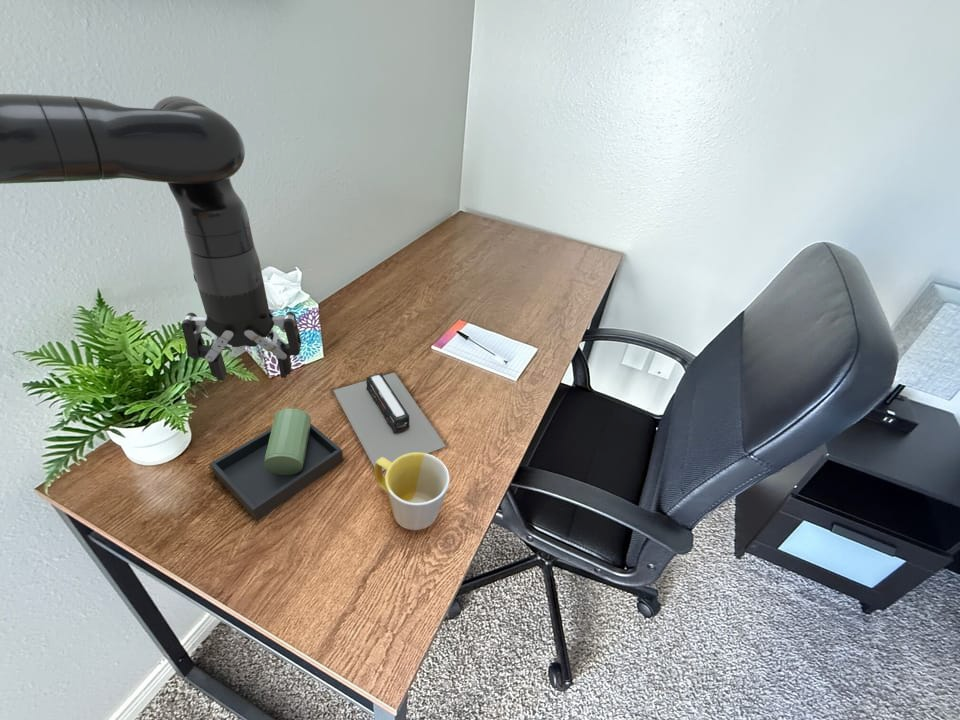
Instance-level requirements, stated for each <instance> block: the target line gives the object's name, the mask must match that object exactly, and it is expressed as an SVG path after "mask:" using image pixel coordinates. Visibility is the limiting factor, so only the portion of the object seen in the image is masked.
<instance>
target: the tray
mask: <svg viewBox="0 0 960 720" xmlns="http://www.w3.org/2000/svg"><path fill="white" fill-rule="evenodd" d="M271 429H272V427H271V428H269V429H267V430H266V431H264V432H262V433H260V434H259V435H257V436H255V437H253V438H252V439H250V440H248V441H246V442H245V443H243V444H241V445H240V446H237V447H236V448H234V449H232V450H230V451H229V452H227V453H225V454H224V455H222V456H220V457H218V458H217V459H215V460H213V461H211V462H210V463H209V466H210V468H211V471H212V474H213V476H214V477H215V478H216V479H217V480H218V481H219V482H220V483H221V484H222V485H223V486H224V487H225V489H226V490H227V491H228V492H229V493H230V494H231V495H232V496H233V497H234V498H235V500H236V501H237V502H239V504H240V505H241V506H242V507H243V508H244V509H245V510H246V511H247V513H249V514H250V517H252V518H253V519H254V520H255V521H256V522H258V521H259V520H260V519H262V518H263V517H265V516H266V515H267V514H269V513H270V512H271V511H273V510H275V509H276V508H277V507H279V506H280V505H282V504H283V503H285V502H286V501H288V500H289V499H290V498H292V497H293V496H294V495H296V494H297V493H299V492H300V491H302V490H303V489H304V488H306V487H307V486H309V485H310V484H312V483H313V482H315V481H316V480H317V479H319V478H321V477H322V476H323V475H325V474H326V473H328V472H330V471H331V470H332V469H333V468H335V467H336V466H337V465H340V463H342V462H343V461H344V455H343V449H342V448H341V447H339V446H338V445H337V444H336V443H335V442H334V441H333V440H331V439H330V438H329V437H328V436H326V435H325V434H324V433H323V432H322V431H321V430H320V429H318V428H317V427H316V426H314V425H313V423H311V425H310V430H309V436H308V442H307V448H306V453H305V459H304V464H303V468H302V470H301V471H300V472H298V473H296V474H292V475H279V474H274V473H271V472H269V471H268V470H266V469H265V468H264V466H263V463H264V458H265V454H266V450H267V446H268V441H269V437H270V433H271Z"/></svg>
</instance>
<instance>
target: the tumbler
mask: <svg viewBox="0 0 960 720" xmlns="http://www.w3.org/2000/svg"><path fill="white" fill-rule="evenodd" d="M311 424H312V418H311V416H310V415H309V414H308V413H307V411H304V410H301V409H297V408H283V409H280V410H278V411H277V412H276V413H275V414H274V417H273V420H272V425H271V428H272V429H271V428H270V429H271V433H270V437H269V441H268V446H267V450H266V454H265V458H264V463H263V466H264V468H265V469H266V470H268V471H269V472H271V473H274V474H279V475H292V474H296V473H298V472H300V471H301V470H302V468H303V464H304V459H305V453H306V448H307V442H308V436H309V430H310V425H311Z"/></svg>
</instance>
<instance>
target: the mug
mask: <svg viewBox="0 0 960 720" xmlns="http://www.w3.org/2000/svg"><path fill="white" fill-rule="evenodd" d="M382 468H384V469H385V470H384V471H385V476H384V475H383V471H382ZM374 478H375V481H376V484H377V485H378V486H379V487H380V488H381V489H382V490H383V491H384V492H386V493H387V496H388V499H389V504H390V507H391V512H392V516H393V519H394V520H395V522H396V523H397V524H398V525H399V526H400V527H402V528H403V529H407V530H410V531H421V530H425V529H427V528H428V527H430V526H432V524H434V522H435V521H436V520H437V519H438V516H439V513H440V511H441V507H442V505H443V502H444V500H445V498H446V495H447V492H448V489H449V486H450V480H451V479H450V472H449V470H448V467H447V466H446V465H445V463H444V462H443V461H442V460H441V459H440V458H438V457H436V455H435V456H434V455H432V454H430V453H428V454H427V453H420V452H415V453H408V454H405V455H402V456H400V457H398V458H397V459H395V460H394V461H393V462H390V461H389V460H387V459H386V458H384V457H381V458H379V459H378V460H377V461H376V463H375V468H374Z"/></svg>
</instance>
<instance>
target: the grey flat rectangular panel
mask: <svg viewBox="0 0 960 720" xmlns="http://www.w3.org/2000/svg"><path fill="white" fill-rule="evenodd" d="M332 391H333V393H334V395H335V398H336V399H337V401H338V402H339V405H340V406H341V408H342V410H343V412H344V413H345V416H346V417H347V419H348V421H349V423H350V425H351V427H352V429H353V430H354V432H355V434H356V436H357V438H358V440H359V442H360V443H361V446H362V447H363V449H364V451H365V453H366V456H367V457H368V459H369V460H370V462H371V464H372V466H373V468H374V469H375V463H376V461H377V460H378V459H379V458H381V457H384V458H386V459H387V460H389V461H390V462H393V461H394V460H395V459H397V458H398V457H400V456H402V455H405V454H408V453H415V452H420V453H427V454H430V453H432V452H435V451H437V450H440V449H442V448H445V447H447V446H446V444H445V443H444V441H443V440H442V438H441V437H440V435H439V434H438V433H437V431H436V430H435V428H434V427H433V425H432V424H431V422H430V421H429V419H428V418H427V417H426V415H425V414H424V412H423V411H422V410H421V408H420V407H419V405H418V404H417V403H416V401H415V400H414V398H413V397H412V396H411V394H410V392H409V391H408V389H407V388H406V386H405V385H404V384H403V382H402V381H401V379H400V378H399V377H398V375H397V373H396V372H391V373H387V374H384V375H383V374H382V371H380V372H379V373H375V374H372V375H369V376H367V377H366V380H364V381H360V382H356V383H354V384H349V385H346V386H343V387H340V388H336V389H333V390H332ZM384 471H386V470H385V469H384V468H382V472H384Z"/></svg>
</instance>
